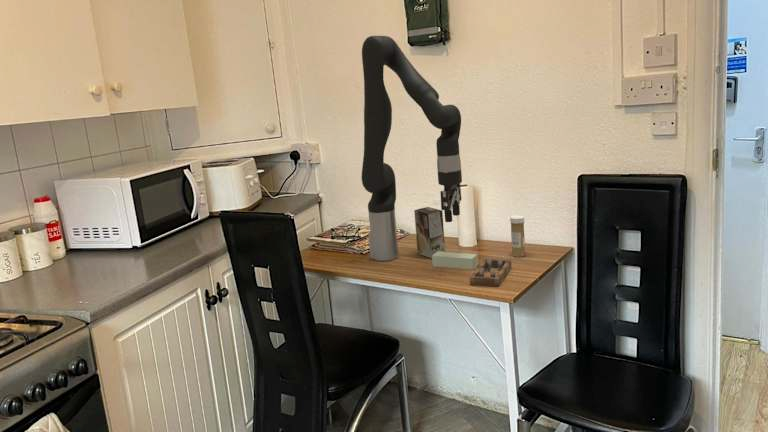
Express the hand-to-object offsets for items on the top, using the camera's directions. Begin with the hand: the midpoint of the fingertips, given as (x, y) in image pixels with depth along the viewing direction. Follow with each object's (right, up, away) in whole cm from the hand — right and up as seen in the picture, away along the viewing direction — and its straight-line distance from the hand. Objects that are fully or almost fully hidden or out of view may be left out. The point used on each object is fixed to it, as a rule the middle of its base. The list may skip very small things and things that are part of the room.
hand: (452, 218), depth 200 cm
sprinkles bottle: (+23, -13, +9) cm, 28 cm away
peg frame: (+11, -18, -9) cm, 23 cm away
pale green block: (+1, -16, +4) cm, 16 cm away
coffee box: (-5, -13, +18) cm, 23 cm away
